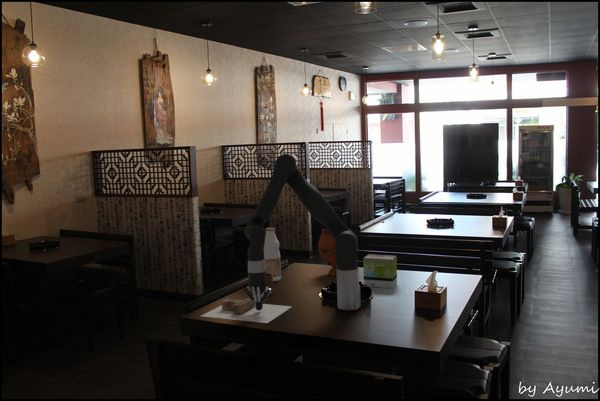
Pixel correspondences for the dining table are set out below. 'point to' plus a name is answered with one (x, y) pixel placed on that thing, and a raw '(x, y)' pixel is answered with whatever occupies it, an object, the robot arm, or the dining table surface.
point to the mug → (269, 283)
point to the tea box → (380, 271)
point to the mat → (250, 313)
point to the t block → (238, 305)
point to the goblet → (328, 250)
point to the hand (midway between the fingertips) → (259, 309)
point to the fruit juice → (272, 254)
